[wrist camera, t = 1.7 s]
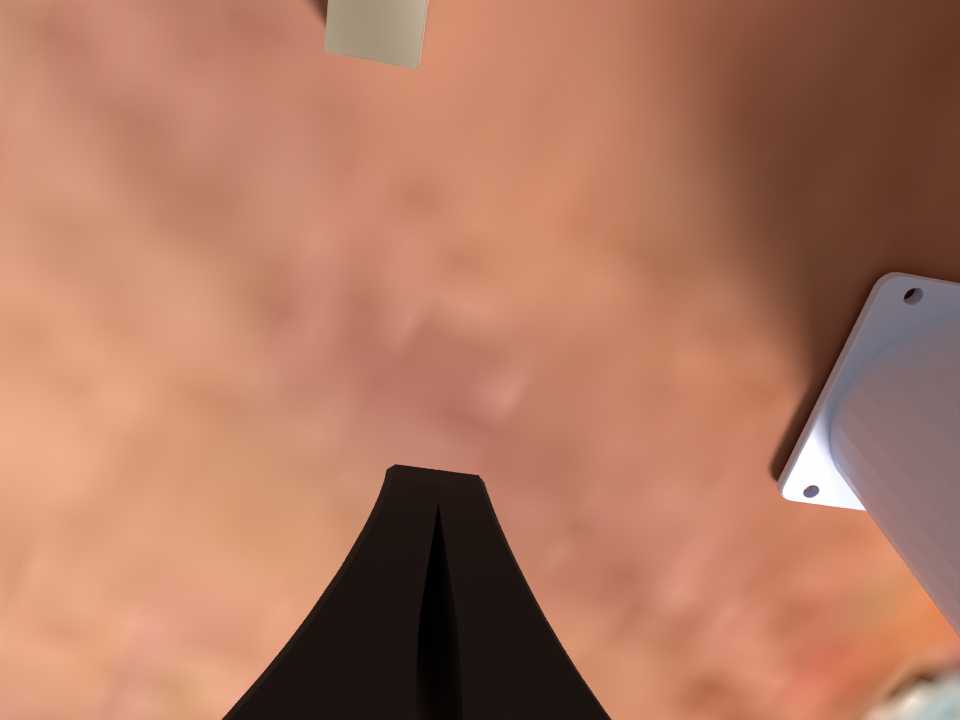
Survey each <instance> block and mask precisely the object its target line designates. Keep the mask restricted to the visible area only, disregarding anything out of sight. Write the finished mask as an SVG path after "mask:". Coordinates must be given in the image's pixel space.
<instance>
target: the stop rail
mask: <svg viewBox="0 0 960 720" xmlns="http://www.w3.org/2000/svg"><path fill="white" fill-rule="evenodd" d="M428 3H429V0H328V8H327V21H326V34H325V47H324V51H325V52H330V53H335V54H341V55H346V56H351V57H356V58H361V59H366V60H371V61H376V62H381V63H387V64H392V65H397V66H402V67H407V68H412V69H417V68H418V66H419V63H420V60H421V54H422V47H423V40H424V32H425V25H426V18H427V11H428Z"/></svg>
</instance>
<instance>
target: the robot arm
mask: <svg viewBox="0 0 960 720" xmlns="http://www.w3.org/2000/svg"><path fill="white" fill-rule="evenodd" d="M912 288H915V292H914V293H913V295H912V296H911V297H909V298H907V299H904V295H905V294H906V293H907V291H909V290H910V289H912ZM810 485H813V486H812V487H811V488H810V489H807V490H804V489H805V488H806V487H808V486H810ZM777 487H778V490H779V492H780V493H781V495H782V496H783V497H784V498H785V499H787V500H791V501H798V502H805V503H813V504H820V505H828V506H835V507H842V508H850V509H857V510H864V511H867V512H868V514H869V515H870V516H871V518H872V519H873V520H874V522H875V523H876V524H877V526H878V527H879V528H880V530H881V531H882V533H883V534H884V535H885V537H886V538H887V539H888V541H889V542H890V543H891V545H892V546H893V548H894V549H895V550H896V552H897V553H898V554H899V556H900V557H901V558H902V560H903V561H904V563H905V564H906V565H907V567H908V568H909V569H910V571H911V572H912V573H913V575H914V576H915V578H916V579H917V580H918V582H919V583H920V584H921V586H922V587H923V588H924V590H925V591H926V593H927V594H928V595H929V597H930V598H931V599H932V601H933V602H934V603H935V605H936V606H937V607H938V609H939V610H940V612H941V613H942V614H943V616H944V617H945V618H946V620H947V621H948V622H949V624H950V625H951V627H952V628H953V629H954V631H955V632H956V633H957V635H958V636H959V637H960V283H957V282H951V281H945V280H940V279H934V278H928V277H923V276H917V275H912V274H906V273H900V272H891V273H889V274H886V275H884V276H882V277H881V278H880V279H878V281H877V282H876V284H875V285H874V287H873V289H872V291H871V293H870V295H869V297H868V299H867V301H866V303H865V305H864V307H863V309H862V311H861V313H860V315H859V317H858V319H857V321H856V323H855V325H854V327H853V329H852V331H851V333H850V335H849V337H848V340H847V342H846V344H845V346H844V348H843V350H842V352H841V354H840V356H839V358H838V360H837V362H836V364H835V366H834V368H833V370H832V372H831V374H830V376H829V378H828V380H827V382H826V384H825V386H824V388H823V390H822V392H821V394H820V397H819V399H818V401H817V403H816V405H815V407H814V409H813V411H812V413H811V415H810V417H809V419H808V421H807V423H806V425H805V427H804V429H803V431H802V433H801V435H800V437H799V439H798V441H797V443H796V445H795V447H794V449H793V452H792V454H791V456H790V458H789V460H788V462H787V464H786V466H785V468H784V470H783V472H782V474H781V476H780V478H779V480H778V483H777ZM222 720H611V718H610V717H609V716H608V714H607V713H606V712H605V710H604V709H603V707H602V706H601V704H600V703H599V701H598V700H597V699H596V697H595V696H594V694H593V693H592V691H591V690H590V688H589V687H588V685H587V684H586V683H585V681H584V680H583V678H582V677H581V675H580V673H579V672H578V670H577V669H576V667H575V666H574V664H573V663H572V661H571V659H570V658H569V656H568V655H567V653H566V651H565V650H564V648H563V646H562V645H561V643H560V641H559V640H558V638H557V636H556V635H555V633H554V631H553V629H552V628H551V626H550V624H549V623H548V621H547V619H546V617H545V616H544V614H543V612H542V610H541V608H540V606H539V605H538V603H537V601H536V599H535V597H534V595H533V593H532V591H531V589H530V587H529V585H528V584H527V582H526V580H525V578H524V576H523V574H522V572H521V570H520V568H519V566H518V564H517V562H516V560H515V558H514V555H513V553H512V551H511V549H510V547H509V545H508V542H507V540H506V538H505V535H504V533H503V531H502V529H501V526H500V524H499V522H498V519H497V517H496V514H495V512H494V509H493V506H492V504H491V501H490V498H489V496H488V493H487V490H486V487H485V484H484V482H483V481H482V479H481V478H480V477H479V475H472V474H464V473H457V472H449V471H442V470H434V469H427V468H419V467H412V466H404V465H397V464H395V465H394V466H392V467H390V468H389V469H387V470H386V475H385V480H384V483H383V486H382V489H381V491H380V494H379V496H378V499H377V501H376V503H375V506H374V508H373V510H372V512H371V514H370V516H369V518H368V520H367V522H366V524H365V526H364V528H363V530H362V531H361V533H360V535H359V537H358V538H357V540H356V542H355V544H354V545H353V547H352V549H351V550H350V552H349V554H348V556H347V557H346V559H345V561H344V563H343V564H342V566H341V567H340V569H339V570H338V572H337V574H336V575H335V577H334V578H333V579H332V581H331V582H330V584H329V585H328V587H327V588H326V590H325V591H324V593H323V594H322V596H321V597H320V599H319V600H318V602H317V603H316V604H315V606H314V607H313V609H312V610H311V612H310V613H309V615H308V616H307V617H306V619H305V620H304V621H303V623H302V624H301V625H300V627H299V628H298V629H297V631H296V632H295V633H294V635H293V636H292V637H291V639H290V640H289V641H288V642H287V644H286V645H285V646H284V648H283V649H282V650H281V651H280V652H279V654H278V655H277V656H276V657H275V659H274V660H273V661H272V662H271V664H270V665H269V666H268V667H267V669H266V670H265V671H264V672H263V673H262V675H261V676H260V677H259V678H258V679H257V680H256V681H255V683H254V684H253V685H252V686H251V687H250V688H249V689H248V690H247V692H246V693H245V694H244V695H243V696H242V697H241V698H240V700H239V701H238V702H237V703H236V704H235V705H234V706H233V707H232V709H231V710H230V711H229V712H228V713H227V714H226V715H225V717H224V718H223V719H222Z"/></svg>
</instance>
